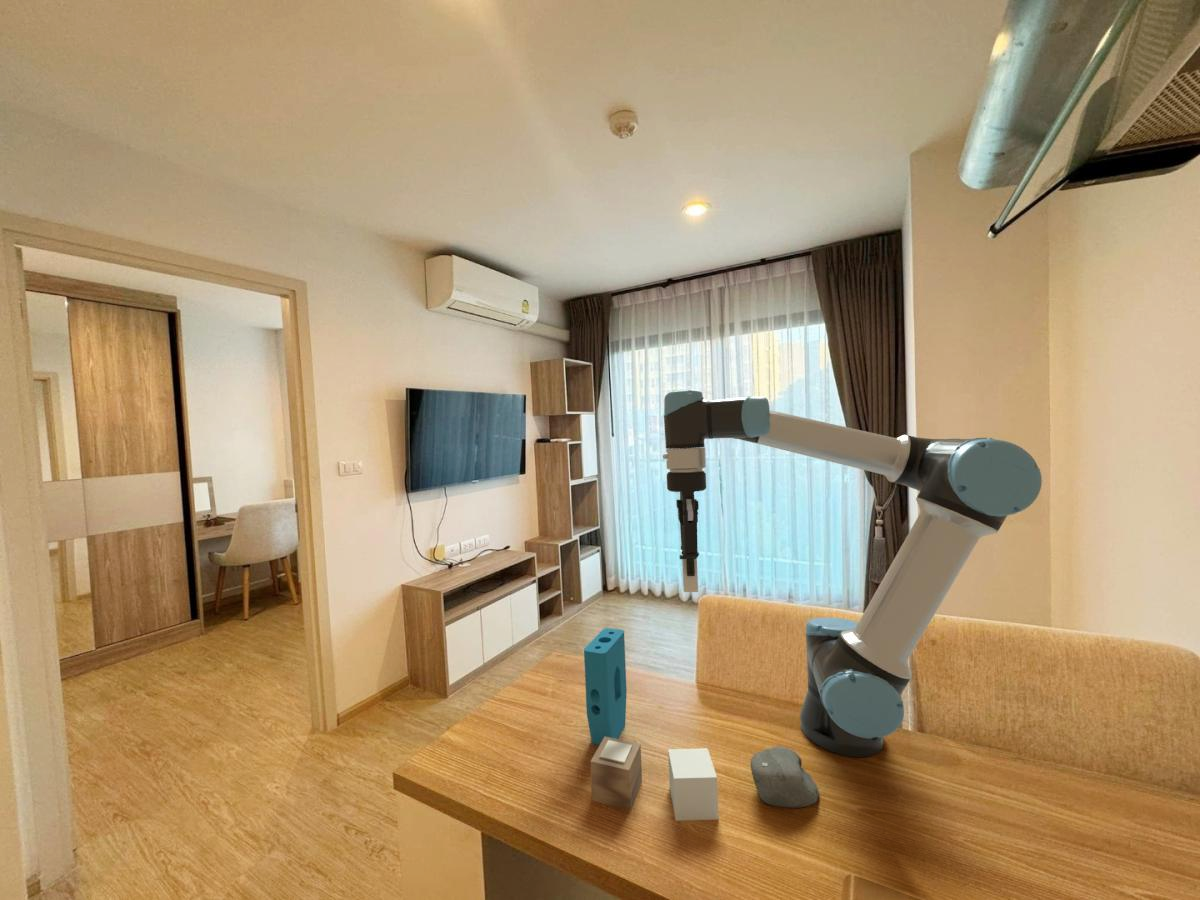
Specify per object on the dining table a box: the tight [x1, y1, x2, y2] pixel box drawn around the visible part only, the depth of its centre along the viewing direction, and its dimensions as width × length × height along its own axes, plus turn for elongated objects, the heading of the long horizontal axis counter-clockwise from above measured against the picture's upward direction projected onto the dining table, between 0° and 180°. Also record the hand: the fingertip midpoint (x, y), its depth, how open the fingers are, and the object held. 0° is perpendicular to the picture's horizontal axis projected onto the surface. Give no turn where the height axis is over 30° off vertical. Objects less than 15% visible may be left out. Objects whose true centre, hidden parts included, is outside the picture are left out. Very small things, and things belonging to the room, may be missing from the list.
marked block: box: [590, 737, 643, 812], centre depth 80 cm, size 7×7×7 cm
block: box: [583, 627, 628, 746], centre depth 96 cm, size 12×5×20 cm, turn 157°
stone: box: [750, 745, 821, 809], centre depth 78 cm, size 9×9×10 cm
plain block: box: [667, 747, 720, 822], centre depth 77 cm, size 7×7×7 cm
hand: (690, 590), depth 88 cm, fingers closed
